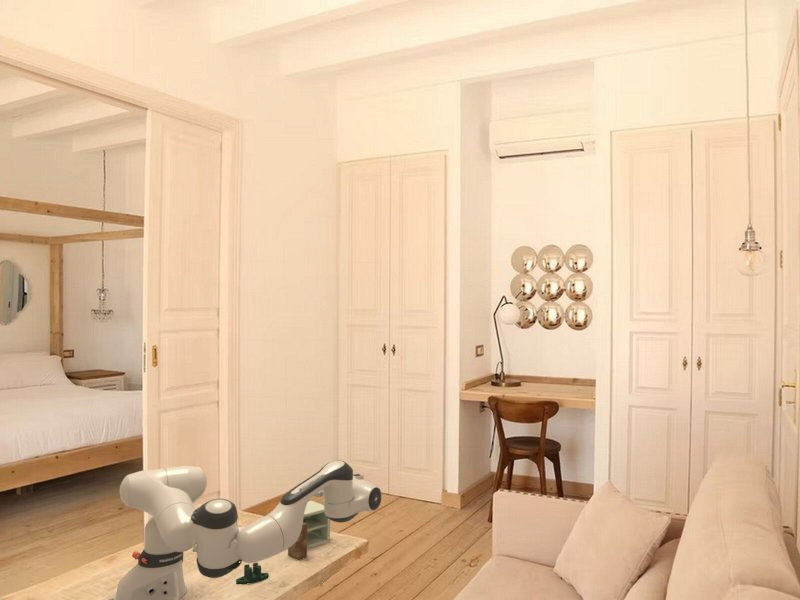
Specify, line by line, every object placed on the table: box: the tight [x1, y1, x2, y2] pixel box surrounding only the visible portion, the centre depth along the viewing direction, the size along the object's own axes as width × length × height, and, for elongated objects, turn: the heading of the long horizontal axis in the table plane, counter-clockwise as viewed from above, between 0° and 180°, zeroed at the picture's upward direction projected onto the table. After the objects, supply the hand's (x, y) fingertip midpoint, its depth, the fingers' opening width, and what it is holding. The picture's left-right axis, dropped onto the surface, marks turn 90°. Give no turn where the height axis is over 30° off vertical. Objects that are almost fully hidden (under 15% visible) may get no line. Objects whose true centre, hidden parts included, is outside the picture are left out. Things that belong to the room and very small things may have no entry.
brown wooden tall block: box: [287, 522, 308, 561], centre depth 233 cm, size 4×6×12 cm
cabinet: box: [303, 500, 331, 550], centre depth 246 cm, size 15×13×13 cm
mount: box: [235, 562, 270, 585], centre depth 212 cm, size 11×4×5 cm, turn 123°
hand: (318, 479), depth 224 cm, fingers open, 8 cm apart
